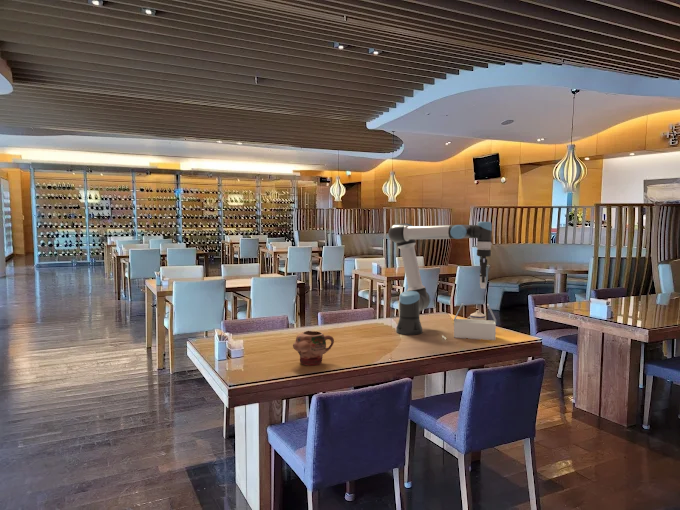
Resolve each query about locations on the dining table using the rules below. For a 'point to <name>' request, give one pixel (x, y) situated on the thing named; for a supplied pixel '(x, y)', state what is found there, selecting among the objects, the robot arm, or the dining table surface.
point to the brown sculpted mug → (312, 347)
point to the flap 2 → (491, 312)
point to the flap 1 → (458, 311)
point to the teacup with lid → (477, 316)
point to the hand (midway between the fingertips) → (482, 286)
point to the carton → (474, 329)
